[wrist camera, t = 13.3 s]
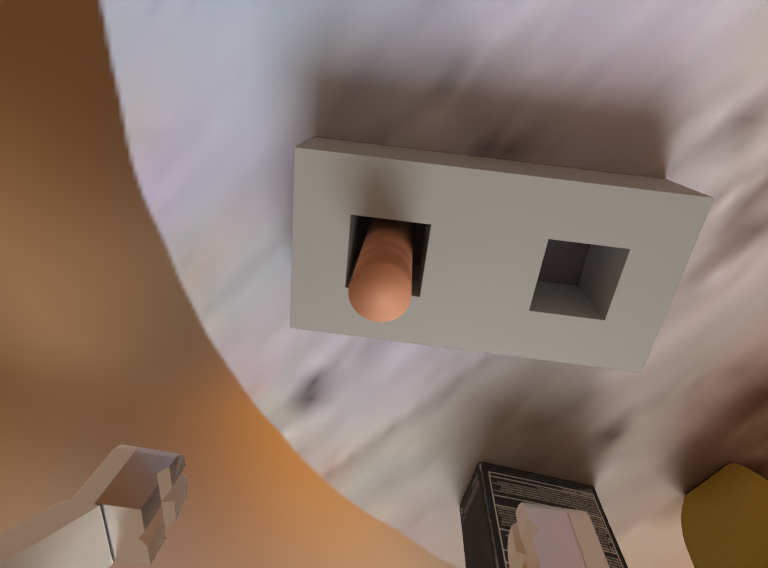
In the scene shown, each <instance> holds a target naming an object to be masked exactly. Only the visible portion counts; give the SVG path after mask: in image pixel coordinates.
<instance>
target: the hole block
mask: <svg viewBox="0 0 768 568" xmlns="http://www.w3.org/2000/svg"><path fill="white" fill-rule="evenodd" d="M713 200H714V198H713V197H710V196H708V195H705V194H703V193H700V192H697V191H695V190H692V189H690V188H687V187H685V186H682V185H679V184H677V183H674V182H672V181H669V180H667V179H660V178H652V177H644V176H636V175H627V174H619V173H611V172H602V171H594V170H586V169H577V168H569V167H561V166H552V165H544V164H536V163H528V162H519V161H511V160H503V159H494V158H486V157H478V156H469V155H461V154H453V153H444V152H436V151H428V150H419V149H411V148H403V147H395V146H386V145H378V144H370V143H361V142H353V141H345V140H336V139H328V138H320V137H313V138H311V139H309V140H307V141H305V142H303V143H302V144H300V145H298V146H296V147H294V182H293V226H292V270H291V313H290V328H296V329H304V330H312V331H320V332H328V333H335V334H343V335H351V336H359V337H367V338H374V339H382V340H390V341H398V342H406V343H413V344H421V345H429V346H437V347H445V348H452V349H460V350H468V351H476V352H484V353H491V354H499V355H507V356H515V357H523V358H531V359H538V360H546V361H554V362H562V363H570V364H577V365H585V366H593V367H601V368H609V369H616V370H624V371H632V372H640V373H641V372H642V370H643V367H644V365H645V362H646V360H647V358H648V355H649V353H650V350H651V348H652V346H653V343H654V341H655V338H656V336H657V334H658V331H659V329H660V326H661V324H662V322H663V319H664V317H665V315H666V312H667V310H668V307H669V305H670V303H671V300H672V298H673V295H674V293H675V291H676V288H677V286H678V283H679V281H680V279H681V276H682V274H683V272H684V269H685V267H686V264H687V262H688V260H689V257H690V255H691V252H692V250H693V248H694V245H695V243H696V240H697V238H698V236H699V233H700V231H701V228H702V226H703V224H704V221H705V219H706V217H707V214H708V212H709V209H710V207H711V205H712V202H713ZM359 216H366V217H374V218H382V219H391V220H399V221H407V222H415V223H423V224H426V227H425V233H424V240H423V247H422V253H421V260H420V266H417V265H412V289H411V301H410V304H409V306H408V308H407V310H406V311H405V312H404V313H403V314H402V315H401V316H399V317H398V318H396V319H394V320H391V321H387V322H374V321H370V320H368V319H365V318H364V317H362V316H361V315H359V314H358V313H357V312H356V311H355V310H354V308H353V307H352V305H351V303H350V300H349V296H348V289H349V285H350V282H351V279H352V276H353V273H354V270H355V267H356V264H357V261H358V258H356V247H357V235H358V224H359ZM548 239H553V240H561V241H569V242H577V243H585V244H590V247H589V251H588V254H587V257H586V260H585V263H584V266H583V270H582V273H581V276H580V279H579V282H578V285H569V284H561V283H553V282H545V281H537V279H538V276H539V272H540V269H541V265H542V261H543V258H544V254H545V250H546V247H547V243H548Z"/></svg>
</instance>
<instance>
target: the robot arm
mask: <svg viewBox="0 0 768 568" xmlns="http://www.w3.org/2000/svg"><path fill="white" fill-rule="evenodd" d="M184 467H185V460H184V455H181V454H176V453H170V452H164V451H158V450H152V449H146V448H139V447H133V446H127V445H120V446H118V447H116V448H115V449H114V450H112V452H111V453H110V454H109V455H108V457H107V458H106V459H105V460H104V461H103V462H102V464H101V465H100V466H99V467H98V468H97V469H96V471H95V472H94V473H93V474H92V475H91V476H90V478H89V479H88V480H87V482H85V484H84V485H83V486H82V487H81V488H80V489H79V491H78V492H77V493H76V494H75V496H74V497H73V498H72V499H71V500H70V501H68V500H63V501H61V502H59V503H57V504H55V505H53V506H52V507H50V508H48V509H46V510H44V511H42V512H41V513H39V514H37V515H35V516H33V517H31V518H30V519H28V520H26V521H24V522H22V523H20V524H18V525H16V526H15V527H13V528H11V529H9V530H7V531H5V532H3V533H1V534H0V568H108V567H109V566H111V565H112V564H113V561H115V562H124V563H132V564H141V565H149V566H151V564H152V562H153V560H154V559H155V557H156V555H157V553H158V551H159V550H160V548H161V546H162V545H163V543H164V541H165V539H166V534H165V528H166V527H167V526H169V525H170V524H172V523H173V522H174V521H176V520H177V518H178V516H179V514H180V512H181V510H182V508H183V505H184V502H185V499H186V495H187V479H186V478H185V476H183V474H182V473H181V472H182V470H183V469H184ZM516 517H517V522H516V523H515V524H513V525H512V526H511V529H510V532H509V536H508V547H507V549H508V560H509V566H510V568H610V567H609V565H608V562H607V560H606V557H605V555H604V552H603V549H602V547H601V544H600V542H599V539H598V537H597V534H596V532H595V529H594V526H593V524H592V521H591V519H590V516H589V515H588V514H587V512H586V511H581V510H573V509H566V508H561V507H554V506H546V505H538V504H530V503H523V502H521V503H520V504H519V505H518V508H517V510H516Z"/></svg>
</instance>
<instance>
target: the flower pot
mask: <svg viewBox="0 0 768 568" xmlns="http://www.w3.org/2000/svg"><path fill="white" fill-rule="evenodd" d="M681 524H682V532H683V537H684V541H685V544H686V547H687V550H688V552H689V555H690V557H691V560H692V562H693V565H694V567H695V568H768V480H766V479H765V478H763V477H762V476H760V475H759V474H757V473H755V472H754V471H752V470H750V469H748V468H746V467H744V466H741V465H738V464H736V463H730V464H728V465H726V466H725V467H723V468H722V469H721V470H719V471H718V472H717V473H715V474H714V475H713V476H711V477H710V478H709V479H707V480H706V481H705V482H703V483H702V484H700V485H699V486H697V487H696V488H695V489H693V490H692V491H691V492H689V493H688V494H687V495H686V496H685V497H684V502H683V506H682V513H681Z"/></svg>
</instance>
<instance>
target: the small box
mask: <svg viewBox="0 0 768 568" xmlns="http://www.w3.org/2000/svg"><path fill="white" fill-rule="evenodd" d="M521 502H523V503H530V504H538V505H546V506H554V507H561V508H566V509H573V510H581V511H586V512H587V514H588V515H589V516H590V519H591V521H592V524H593V526H594V529H595V532H596V534H597V537H598V539H599V542H600V544H601V547H602V549H603V552H604V555H605V557H606V560H607V562H608V565H609V567H610V568H628V566H627V564H626V562H625V559H624V557H623V555H622V553H621V550H620V548H619V546H618V543H617V541H616V539H615V536H614V534H613V531H612V529H611V527H610V525H609V523H608V520H607V517H606V515H605V513H604V511H603V508H602V506H601V503H600V501H599V498H598V496H597V493H596V490H595V488H594V487H591V486H587V485H582V484H577V483H573V482H568V481H564V480H559V479H555V478H550V477H545V476H541V475H536V474H532V473H527V472H523V471H518V470H514V469H509V468H505V467H500V466H496V465H491V464H486V463H482V462H481V463H480V464H478V466H477V468H476V470H475V474H474V475H473V479H472V481H471V483H470V486H469V488H468V489H467V492H466V495H465V496H464V497H463V500H462V503H461V506H460V515H461V524H462V533H463V543H464V553H465V561H466V568H510V566H509V560H508V549H507V547H508V536H509V532H510V529H511V526H512V525H513V524H515V523H516V522H517V517H516V510H517V508H518V505H519V504H520V503H521Z"/></svg>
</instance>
